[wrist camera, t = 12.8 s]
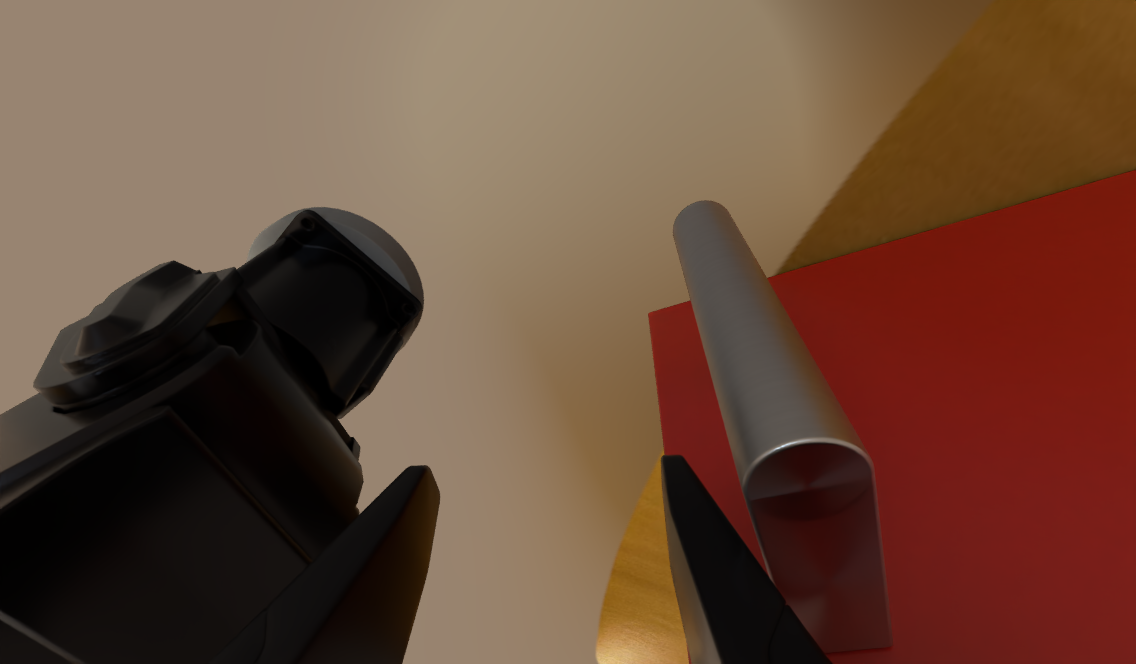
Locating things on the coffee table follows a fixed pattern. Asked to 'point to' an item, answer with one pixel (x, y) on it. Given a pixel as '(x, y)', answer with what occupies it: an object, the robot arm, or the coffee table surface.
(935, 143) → the coffee table surface
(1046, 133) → the coffee table surface
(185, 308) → the robot arm
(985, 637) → the cupboard door
